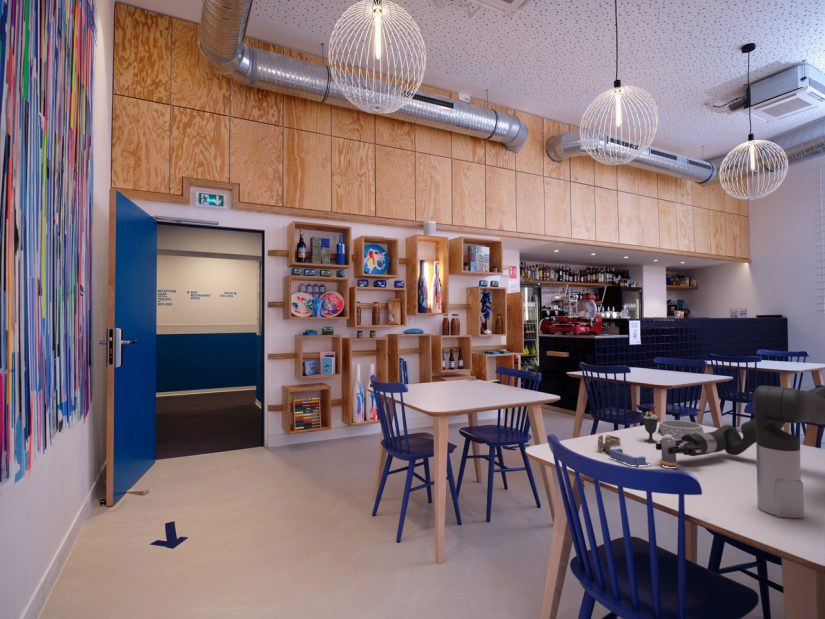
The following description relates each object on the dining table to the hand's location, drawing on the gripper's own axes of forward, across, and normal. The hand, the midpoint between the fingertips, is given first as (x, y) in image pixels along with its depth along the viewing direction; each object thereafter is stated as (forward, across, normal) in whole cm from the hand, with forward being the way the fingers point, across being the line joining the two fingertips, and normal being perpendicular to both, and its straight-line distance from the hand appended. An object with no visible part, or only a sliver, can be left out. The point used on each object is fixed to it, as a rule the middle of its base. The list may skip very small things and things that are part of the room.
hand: (662, 448), depth 157 cm
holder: (+6, +9, -7) cm, 12 cm away
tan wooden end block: (-5, +28, -6) cm, 30 cm away
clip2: (+1, +26, -6) cm, 27 cm away
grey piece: (-3, 0, -6) cm, 7 cm away
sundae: (-23, +27, -7) cm, 36 cm away
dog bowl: (-45, +30, -7) cm, 55 cm away
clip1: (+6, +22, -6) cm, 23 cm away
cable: (+2, +23, -6) cm, 24 cm away
